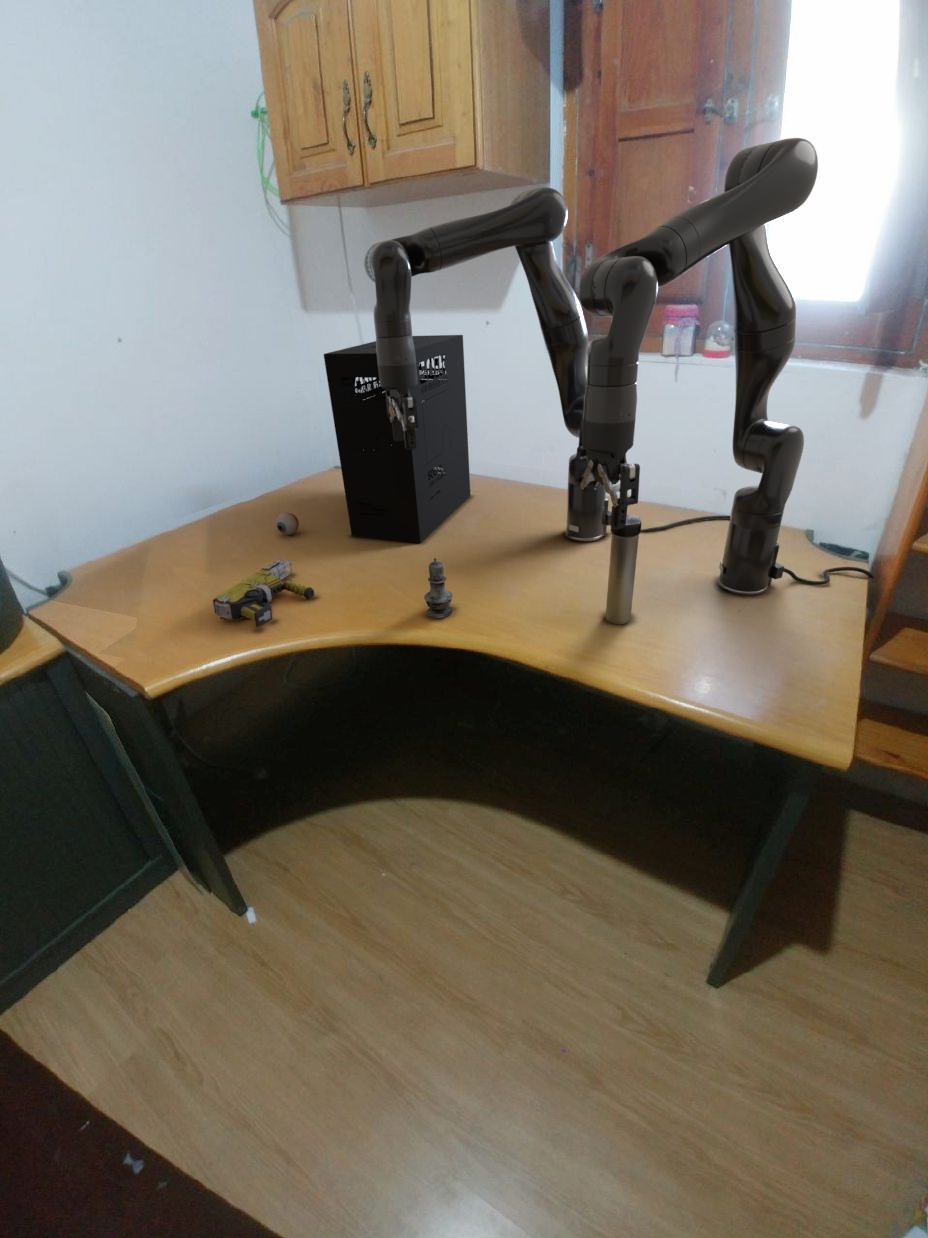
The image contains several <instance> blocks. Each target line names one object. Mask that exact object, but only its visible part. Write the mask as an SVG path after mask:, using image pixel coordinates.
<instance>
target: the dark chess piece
mask: <svg viewBox="0 0 928 1238" xmlns="http://www.w3.org/2000/svg"><path fill="white" fill-rule="evenodd" d="M444 570H445V569H444V564H443V562H441V561H438V559H437V558H436V557H434V559H433V561H432V562H430V563H429V564H428V574H429V577H428V579H427V582H429V591H427V592H426V593H425V594H424V596H423V600H424V601H425V603H426V605H427V606H428V607H429V608H428V609H426V614H427V616H428V617H430V618H434V619H443V618H446V617H447V618H448V617H449V616H451V615H452V614H453V607H451V606H450V605H451V603H452V600H453V597H454V594H453V592H451V590H449V589H446V581H447V577H446V576H445V571H444Z"/></svg>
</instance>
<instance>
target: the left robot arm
mask: <svg viewBox="0 0 928 1238" xmlns="http://www.w3.org/2000/svg"><path fill="white" fill-rule="evenodd" d="M568 217H569V209H568V204H567V201H566V199H565V198H564V196H563V195H562V194H561V192H559V190H557V189H555V188H553V187H548V186H540V187H535V188H531V189H528V190H525V191H522V192H520V193H518V194H517V195H515V196H514V198H513V199H512V200H511V202H510V204H509V205H507V206H505V207H503V208H502V207H501V208H499V209H496V210H493V211H490V212H489V211H488V212H486V213H482V214H477V215H472V216H468V217H463V218H462V217H461V218H459V219H454V220H449V221H446V222H443V223H440V224H436V225H433V226H429V227H426V228H423V229H421V230H419V231H416V232H415V233H412V234H409V235H404V236H400V237H395V238H391V239H387V240H384V241H379V242H375V243H373V244H372V245H371V246H370V247H369V248H368V249H367V251H366V252H365V255H364V257H363V258H364V259H363V268H364V271H365V274H366V276H367V278H369V280H371V282H373V283H374V287H375V298H376V299H375V300H376V301H375V304H374V307H373V325H374V333H375V341H376V354H377V363H378V372H379V380H380V381H379V383H380V386H381V388H383V389H385V391H384V392H385V393H386V404H387V416H388V418H390V421H391V423H392V428H393V437H394V440H395V441H403V440H405V448H406V449H407V450H412V449H416V447H417V446H416V435H415V430H416V428H419V422H418V413H417V403H416V397H415V396H413V397H411V396H410V392H409V389H410V388H411V387H415V386H416V385H417V384H418V380H417V369H416V357H415V347H414V342H413V336H414V335H413V328H412V316H411V310H410V309H411V297H412V277H415V276H418V275H423V274H430V273H435V272H439V271H442V270H445V269H449V268H452V267H454V266H455V267H456V266H458V265H461V264H463V263H466V262H469V261H471V260H474V259H477V258H479V257H482V256H485V255H488V254H491V253H495V252H498V251H500V250H504V249H507V248H511V247H514V249H515V250H516V253H517V256H518V258H519V260H520V263H521V266H522V268H523V271H524V274H525V277H526V280H527V283H528V286H529V291H530V295H531V298H532V301H533V305H534V308H535V311H536V315H537V319H538V324H539V328H540V331H541V334H542V337H543V341H544V345H545V349H546V352H547V355H548V357H549V361H550V365H551V369H552V372H553V375H554V378H555V381H556V384H557V386H556V387H557V389H558V395H559V401H560V406H561V412H562V418H563V422H564V426H565V428H566V429H567V431H568V432H569V434H571V435H572V436H573V437H576V438H578V447H581V446H582V437H583V413H584V397H585V392H586V384H587V370H586V363H587V358H588V351H589V333H588V327H587V323H586V319H585V315H584V311H583V306H582V305H581V302H580V299H579V297H578V295H577V294H576V292H575V290H574V289H573V287H572V285H571V284H570V282H569V280H568V279H567V277H566V276H565V274H564V272H563V271H562V269H561V267H560V263H559V261H558V259H557V256H556V252H555V248H554V244H553V242H554V241H555V240H557V239H558V238H559V237H560V236H561V234H562V233H563V232H564V230H565V228H566V227H567V222H568ZM409 420H410V421H411V423H409ZM578 447H577V448H578ZM576 456H577V452H576V453H574V454H572V455H570V456H569V459H568V468H567V469H568V473H567V501H566V502H567V503H566V527H565V536H566V537H567V538H568V539H570V540H572V541H576V542H583V543H584V542H586V543H587V542H594V541H599V540H600V539H602V538H604V536H607V530H608V529H607V528H608V527H607V526H609V527H610V526H611V513H612V511H610V510H609V498H607V497H606V494H607V493H606V491H605V487H604V485H602V484H601V483H600V482H599V483H598V485H597V487H594V488H595V489H597V498H596V510H595V511H593V512H589V513H585V512H583V511H582V499H583V490H582V489H581V487H580V483H576V482H575V470H576ZM585 470H586V468H584V469H582V473H581V475H583V474H584V472H585ZM730 516H731V515H707V516H699V517H694V518H689V519H684V520H680V521H675V522H672V523H669V524H665V525H662V526H655V527H649V528H645V529H641V532H640V533H647V532H653V531H660V530H664V529H665V530H666V529H668V528H672V527H675V526H679V525H682V524H687V523H692V522H697V521H702V520H712V519H730Z"/></svg>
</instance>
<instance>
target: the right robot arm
mask: <svg viewBox="0 0 928 1238" xmlns="http://www.w3.org/2000/svg"><path fill="white" fill-rule="evenodd" d="M818 161H819V160H818V152H817V150H816V148H815V145H814V144H812V142H811V141H810V140H808V139H806V138H800V137H790V138H783V139H779V140H775V141H772V142H771V141H770V142H766V143H762V144H758V145H754V146H750V147H746V148H744V149H741V150H739V151H738V152H737V153H736V154H735V155H734V157H732V159H731V161H730V163H729V165H728V167H727V170H726V174H725V178H724V185H723V192H722V193H721V194H718V195H715V196H714V197H710V198H708V199H706V200H704V201H701V202H699V203H696V204H694V205H692V206H689V207H687V208H686V209H684V210H682V211H680V212H679V213H677V214H675V215H673V216H671V217H670V218H669V219H667V220H665V221H664V222H663V223H662V224H660V225H659V226H657V227H656V228H654V229H652V230H651V231H650V232H649V233H647V234H646V235H644V236H642V237H641V238H638V239H636V240H634V241H631V242H629V243H627V244H624V245H622V246H619V247H618V248H615V249H613V250H611V251H609V252H607V253H604V254H603V255H601V256H600V257H598V258H596V259H595V260H594V261H593V262H592V263H591V264H589V266H588V267H587V268H586V270H585V271H584V273H583V275H582V276H581V278H580V282H579V285H578V300H579V302H580V304H581V307H582V309H583V310H585V311H586V312H587V313H588V314H590V315H592V316H595V317H600V318H611V322H610V325H609V328H608V331H607V334H606V335H604V336H601V337H598V338H596V339H594V340H592V342H590V345H588V350H587V366H586V378H587V384H586V392H585V397H584V413H583V437H582V446H581V447H577V448H576V453H577V456H576V470H575V482H576V483H580V487H581V489H582V490H583V499H582V511H583V512H585V513H589V512H593V511H595V510H596V498H597V489H595V488H594V487H597V485H598V483H599V482H600V483H601V484H602V485H604V487H605V491H606V494H608V495H609V496H610V500H611V504H612V505H611V512H612V513H611V525H610V529H611V528H612V529H614V530H617V529H622V528H624V527H625V524H626V518H627V515H628V507H629V506H632V505H637V504H638V503H639V492H640V477H641V476H640V474H641V465H640V464H639V463H638V462H636V463H628V460H627V452H628V451H629V450H631V449H632V448H633V447H634V441H635V429H636V418H637V416H636V415H637V406H638V387H637V386H638V385H637V384H638V382H637V381H638V372H639V361H640V351H641V349H642V344H643V341H644V339H645V336H646V334H647V330H648V327H649V324H650V320H651V317H652V314H653V312H654V308H655V305H656V302H657V296H658V290H659V288H663V287H665V286H668V285H669V284H671V283H673V282H675V281H676V280H678V279H679V278H680V277H682V276H683V275H685V274H686V273H687V272H689V271H691V269H693V268H694V267H696V266H697V265H699V264H700V263H701V262H703V261H705V260H706V259H708V258H709V257H710V256H712V255H714V254H715V253H717V252H718V251H720V250H722V249H723V248H724V247H726V246H728V248H729V256H730V266H731V280H732V301H733V350H734V363H735V402H734V403H735V405H734V416H733V417H734V418H733V427H732V428H733V430H732V444H731V445H732V455H733V460H734V462H735V463H736V465H737V466H739V467H740V468H742V469H745V470H748V471H751V472H756V473H759V474H761V477H760V480H759V483H758V485H757V484H756V485H750V486H745V487H741V488H739V489H737V490H736V491H735V492H734V496H733V500H732V505H731V511H730V515H729V516H730V518H729V523H728V528H727V535H726V540H725V544H724V551H723V556H722V561H719V567H718V568H719V571H720V572H719V577H718V581H717V584H718V586H719V587H720V588H721V589H723V590H725V591H726V592H729V593H732V594H735V595H739V596H740V595H741V596H757V595H761V594H764V593H765V592H766V591H768V589H767V588H770V587H771V585H772V580H773V579H774V580H778V579H782V578H783V573H785V574H787V575H789V576H790V577H791V578H792V579H793V580H795V581H796V582H799V583H801V584H806V585H810V586H811V585H812V586H823V585H827V584H828V583H830V581H831V579H830V576H829V573H834V572H842V571H843V572H845V571H846V572H847V571H848V572H849V571H850V572H851V571H852V572H857V573H861V574H864V575H866V576H867V577H868V578H870V579H875V578H876V576H875V575H874V574H873V573H872V572H870V571H869V570H866V569H864V568H861V567H858V566H857V567H855V566H840V567H832V568H827V569H825V570H824V571H823V577H824V580H809V579H805V578H801V577H799V576H797V575H796V574H795V573H794V572H793V571H792V570H790V569H788V568H786V567H785V566H784V565H783V564H780V563H778V562H777V558H778V554H779V550H780V544H779V543H778V539H779V535H780V530H781V527H782V526H781V525H782V520H783V516H784V512H785V507H786V503H787V501H788V499H789V497H790V496H791V493H792V490H793V487H794V483H795V480H796V476H797V473H798V469H799V466H800V463H801V460H802V456H803V452H804V447H805V436H804V432H803V431H802V428H800V427H798V426H796V425H792V424H789V423H781V422H776V421H771V420H769V418H768V400H769V395H770V391H771V389H772V386H773V385H774V383H775V382H776V380H777V379H778V377H779V376H780V374H781V372H782V371H783V369H784V368H785V366H786V365H787V363H788V362H789V359H790V358H791V356H792V353H793V351H794V349H795V345H796V322H797V321H796V320H797V306H796V301H795V298H794V295H793V293H792V291H791V289H790V286H789V285H788V283H787V282H786V279H785V278H784V276H783V274H782V273H781V271H780V269H779V268H778V266H777V264H776V262H775V260H774V259H773V256H772V254H771V249H770V247H769V242H768V241H769V240H768V232H767V231H768V230H767V224H770V223H771V222H774V221H776V220H778V219H781V218H783V217H786V216H788V215H790V214H793V213H794V212H796V211H797V210H798V209H800V208H801V207H802V206H803V205H804V204H805V203H806V201H807V200H808V199H809V197H810V195H811V194H812V191H813V189H814V187H815V184H816V181H817V178H818V171H819V169H818V168H819V162H818ZM584 468H586V470H585V472H584V474H583V475H581V473H582V469H584ZM618 482H619V484H618ZM629 491H630V493H629ZM618 493H619V495H618Z"/></svg>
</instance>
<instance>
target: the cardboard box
mask: <svg viewBox="0 0 928 1238" xmlns="http://www.w3.org/2000/svg"><path fill="white" fill-rule="evenodd" d="M412 336H413V342H414V347H415V357H416V369H417V380H418V384H417V385H416V386H415V387H411V388H410V389H409V392H410V396H411V397H413V396H415V397H416V403H417V413H418V422H419V428H416V430H415V435H416V446H417V447H416V449H412V450H407V449H406V448H405V440H403V441H395V440H394V437H393V428H392V423H391V421H390V418H388V416H387V404H386V393H385V389H383V388H381V386H380V380H379V372H378V363H377V354H376V340H374V341H371V342H367V343H362V344H359V345H354V346H349V347H346V348H341V349H337V350H334V351H329V352H326V353H323V359H324V367H325V373H326V380H327V385H328V392H329V398H330V399H329V400H330V406H331V412H332V418H333V425H334V430H335V437H336V444H337V451H338V456H339V463H340V469H341V476H342V483H343V489H344V495H345V501H346V503H345V504H346V509H347V514H348V520H349V527H350V528H349V529H350V533H351V535H350V536H351V537H359V538H367V539H376V540H377V539H378V540H388V541H397V542H406V543H407V542H408V543H417V544H421V543H422V542H423V541H425V540H426V538H428V537H429V536H430V535H431V534H432V533H433V532H434V531H435V530H436V529H438V527H439V526H441V524H443V522H445V521H446V520H447V519H448V518H449V517H450V516H452V514H453V513H454V512H455V511H457V509H458V508H459V507H461V506H462V505H463V504H464V503H465V502H466V501H467V500H468V499H469V498H470V497H471V478H470V459H469V458H470V457H469V435H468V415H467V413H468V412H467V394H466V392H467V391H466V374H465V373H466V372H465V371H466V370H465V354H464V353H465V352H464V350H465V349H464V335H463V334H440V335H439V334H438V335H437V334H436V335H435V334H434V335H433V334H432V335H412ZM422 363H423V365H422ZM440 364H441V365H440ZM440 366H441V367H440ZM366 378H367V380H366ZM370 379H371V380H370ZM361 380H362V381H361ZM409 423H411V421H410V420H409Z"/></svg>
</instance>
